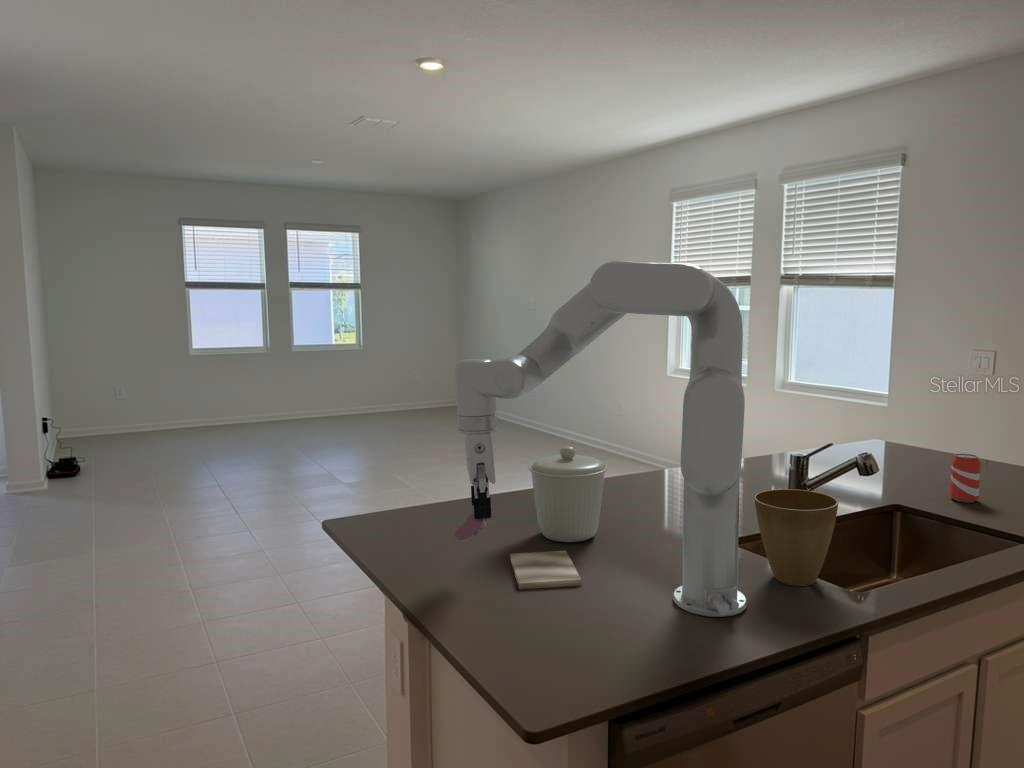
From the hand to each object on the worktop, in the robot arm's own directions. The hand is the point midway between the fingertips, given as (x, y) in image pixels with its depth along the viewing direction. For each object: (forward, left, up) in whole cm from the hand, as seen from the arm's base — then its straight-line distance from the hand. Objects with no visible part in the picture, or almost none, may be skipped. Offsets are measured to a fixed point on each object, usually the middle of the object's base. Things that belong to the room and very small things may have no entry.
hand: (481, 511), depth 137 cm
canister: (+23, -21, -14) cm, 35 cm away
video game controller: (0, +1, -5) cm, 5 cm away
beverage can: (+34, -129, -14) cm, 135 cm away
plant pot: (-9, -59, -14) cm, 62 cm away
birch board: (+2, -12, -14) cm, 19 cm away
